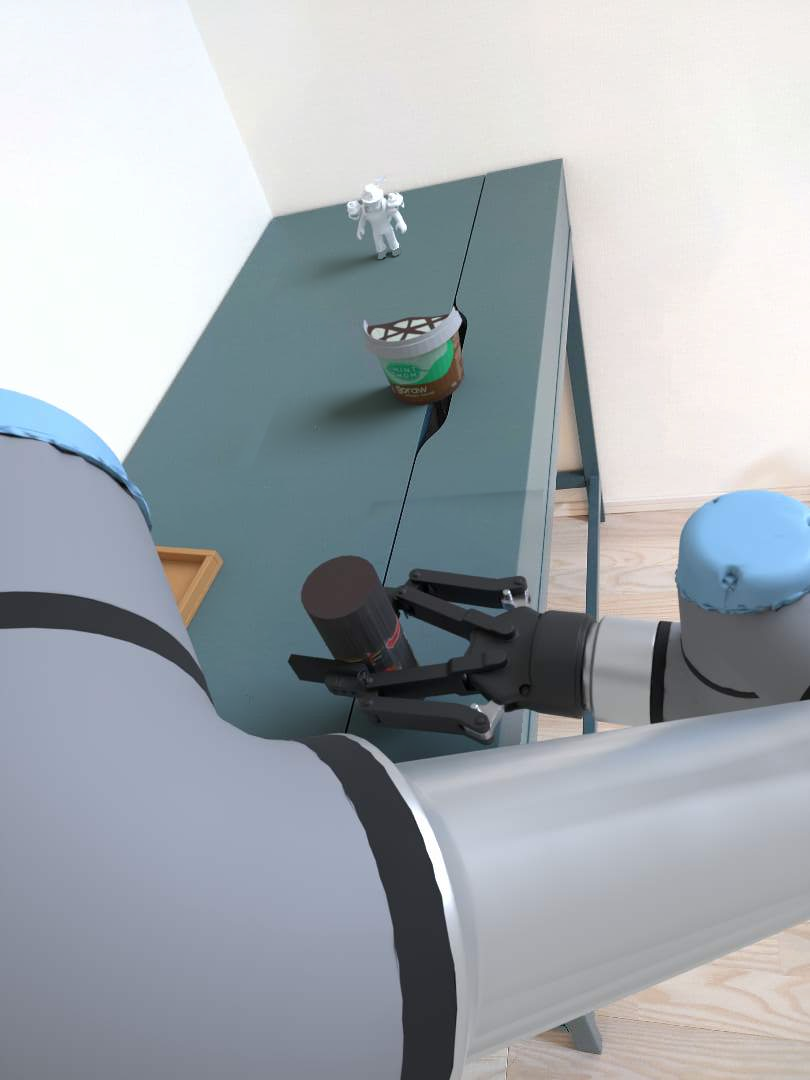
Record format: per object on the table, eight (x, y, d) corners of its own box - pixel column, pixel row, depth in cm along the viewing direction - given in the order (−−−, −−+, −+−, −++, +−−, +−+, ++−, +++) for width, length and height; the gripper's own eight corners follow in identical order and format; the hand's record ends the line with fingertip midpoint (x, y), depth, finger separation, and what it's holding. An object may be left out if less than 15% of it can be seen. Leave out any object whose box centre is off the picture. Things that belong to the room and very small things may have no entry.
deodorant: (348, 698, 71) (285, 595, 60) (395, 651, 73) (342, 544, 62) (393, 735, 67) (334, 632, 57) (441, 685, 69) (393, 576, 59)
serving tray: (171, 656, 83) (161, 644, 82) (79, 643, 88) (69, 632, 87) (223, 562, 91) (215, 550, 89) (136, 555, 96) (127, 543, 94)
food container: (374, 415, 101) (349, 350, 94) (383, 384, 105) (360, 320, 98) (470, 405, 97) (451, 336, 90) (475, 373, 101) (458, 305, 94)
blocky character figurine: (417, 242, 128) (397, 168, 120) (414, 255, 126) (393, 181, 117) (364, 252, 131) (341, 180, 122) (360, 265, 128) (335, 193, 120)
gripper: (576, 815, 54) (283, 758, 63) (617, 593, 65) (362, 572, 75) (562, 764, 49) (244, 710, 58) (609, 532, 60) (336, 518, 69)
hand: (311, 633), depth 66 cm, fingers closed on deodorant, 6 cm apart
